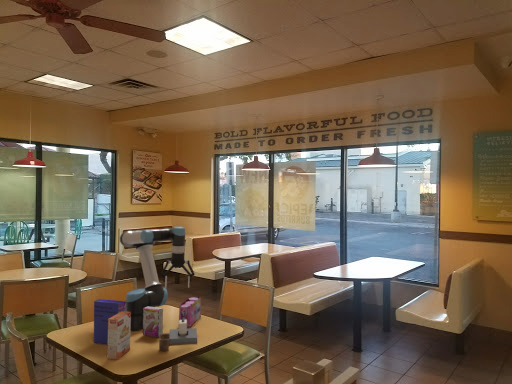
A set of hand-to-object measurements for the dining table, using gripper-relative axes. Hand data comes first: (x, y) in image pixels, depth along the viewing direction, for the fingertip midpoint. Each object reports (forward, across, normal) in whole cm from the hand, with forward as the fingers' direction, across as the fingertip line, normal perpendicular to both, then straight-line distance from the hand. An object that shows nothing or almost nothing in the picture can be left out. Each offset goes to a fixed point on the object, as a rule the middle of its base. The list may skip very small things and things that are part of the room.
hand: (177, 287), depth 237 cm
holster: (+28, -6, -20) cm, 35 cm away
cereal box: (+29, -37, -9) cm, 48 cm away
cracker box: (+28, -28, -26) cm, 48 cm away
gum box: (+29, +9, +23) cm, 39 cm away
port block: (+28, +4, -8) cm, 30 cm away
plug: (+28, +4, -8) cm, 30 cm away
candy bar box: (+29, -14, 0) cm, 32 cm away
